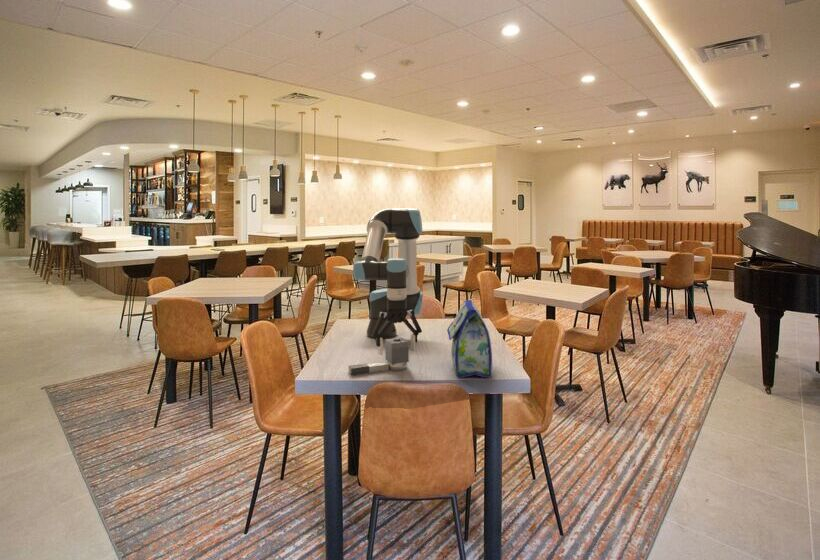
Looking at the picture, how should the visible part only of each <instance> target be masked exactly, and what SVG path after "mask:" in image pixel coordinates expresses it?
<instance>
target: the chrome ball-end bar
mask: <svg viewBox="0 0 820 560" xmlns="http://www.w3.org/2000/svg"><path fill="white" fill-rule="evenodd" d="M388 370H389V371H391V372H403V370H404V371H406V370H408V362H404V363H396V364H391V363H390V362H388V361H387V360H386V361H385V362H377V363H369V364H368V363H360V364H351V365H348V374H349V375H350V376H357V374H359V375H366V374H365V373H367V374H371V373H370V372H373V373H379V371H381V372H388Z"/></svg>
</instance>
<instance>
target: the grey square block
mask: <svg viewBox="0 0 820 560" xmlns="http://www.w3.org/2000/svg"><path fill="white" fill-rule="evenodd" d="M384 341H385V350H384V353H385V355H384V356H385V358H384V359H385V361H386V362H387V361H388V362H390V363H391V364H396V363H404V362H407V363H409V362H410V361H409V360H410V357H409V355H410V354H409V348H410V347H409V346H410V343H409V340H406V339H405V338H403V337H396V338H394V337H393V338H384Z"/></svg>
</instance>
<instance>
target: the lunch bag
mask: <svg viewBox="0 0 820 560" xmlns="http://www.w3.org/2000/svg"><path fill="white" fill-rule="evenodd" d="M447 335H448V340H449V341H450V340H451V341H452V342H451V348H450V349H451V353H450V354H451V358H452V359H451V360H452V364H453V368H454V369H453V370H454V372H455V376H456V377H457V378H461V377H462V378H466V377H470V376H474V375H475V376H478V377H481V378H482V377H483V378H487V377H488V378H490V377H492V373H493V351H492V350H493V348H492V341H491V336H490V335H491V334H490V333H489V329H488V327H487V325H486V323H485V320H484V318H483V316H482V314H481V313H480V311H479V309H478V307H477V305H476V304H475V303H474V302H473V301H472V300H470V299H466V300H464V301H463V303H462V305H461V307H459V310H458V312H457V314H456V316H455V317H454V319H453V320H452V322H451V323H450V325H449V326H448V328H447Z"/></svg>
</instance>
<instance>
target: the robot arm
mask: <svg viewBox="0 0 820 560" xmlns="http://www.w3.org/2000/svg"><path fill="white" fill-rule="evenodd" d="M366 232H367V235H366V238H365V243H364V247H363V251H362V256H361V259H360V260H358V261H355V262H354V263H353V267H352V273H353V278H354V279H355V280H358V281H386V288H381V289H376V290H372V291H370V294H369V322H368V326H367V329H366V336H367V337H368V338H372V339H375V345H376V347H378V349H377V352H378V355H379V356H383V355H384V354H383V344H384V343H383V339H391V338H394V337H396V336H397V333H398V332H397V328H396V324H397V323H400V324H401V323H404V325H405V326H406V327H407V328H408V330H409V331H410V332H411V334H410V351H411V352H413V353H414V352H416V343H418V335H419V334H421V333H423V330H422V327H421V326H420V324H419V321H418V320H417V318H416V316H418V315H420V314H421V310H422V305H423V304H422V303H423V297H424V292H423V291H421V288H420V287H419V286H418V272H417V271H418V270H417V269H418V267H417V265H418V263H417V262H418V261H417V256H418V255H417V240H418V239H419V238H420V235H421V234H422V233H423V222H422V215H421V211H420V210H419V209H418V208H411V207H406V208H405V207H404V208H403V207H401V208H400V207H399V208H397V207H396V208H389V207H388V208H384V209H380V210H379V211H377V212H376V213H375V214H373V215H372V216H371V218H369V220H368V222H367V225H366ZM387 234H394V238H395V239H396V240H397V241H398V243H397V244H398V258H395V257H394V258H388V259H387V261H380V259H381V255H382V250H383V245H384V239H385V237H386V236H387ZM407 316H409V318H410V320H411V322H412V324H413V325H412V324H411V323H410V321H409V320H408V319H407Z"/></svg>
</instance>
